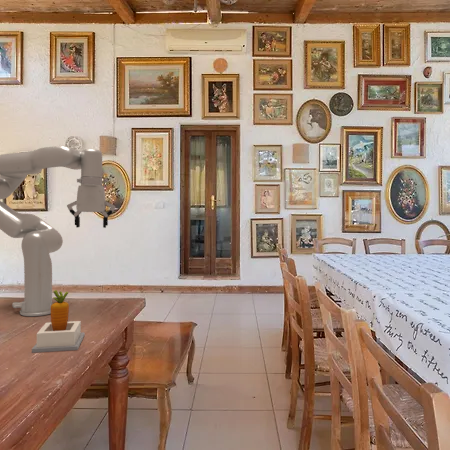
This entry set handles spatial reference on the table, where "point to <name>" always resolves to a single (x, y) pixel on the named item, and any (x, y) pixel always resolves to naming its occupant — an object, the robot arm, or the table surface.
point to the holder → (59, 338)
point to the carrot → (59, 312)
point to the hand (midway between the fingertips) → (91, 227)
